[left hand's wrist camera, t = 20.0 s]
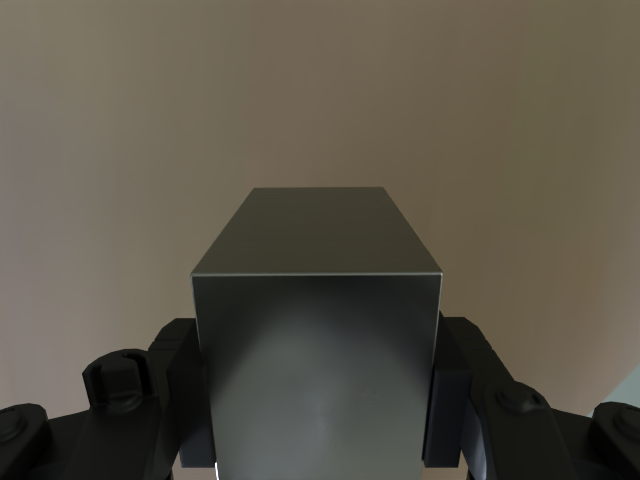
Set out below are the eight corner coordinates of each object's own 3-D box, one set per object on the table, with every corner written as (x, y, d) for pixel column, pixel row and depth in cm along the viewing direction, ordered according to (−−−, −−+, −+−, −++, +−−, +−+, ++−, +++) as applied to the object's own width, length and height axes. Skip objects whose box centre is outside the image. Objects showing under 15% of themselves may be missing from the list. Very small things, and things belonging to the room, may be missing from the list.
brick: (375, 342, 17) (416, 521, 10) (263, 342, 17) (221, 522, 10) (383, 186, 15) (444, 272, 7) (253, 187, 15) (188, 273, 7)
